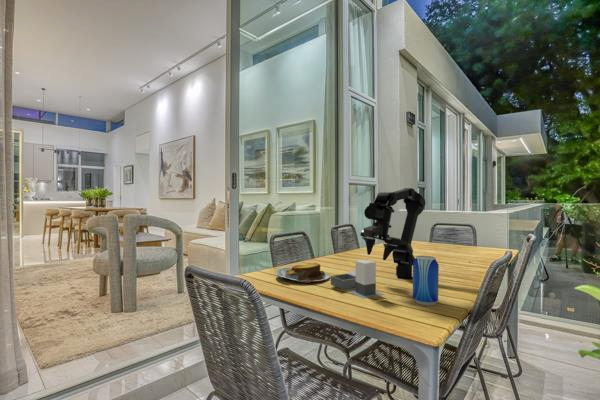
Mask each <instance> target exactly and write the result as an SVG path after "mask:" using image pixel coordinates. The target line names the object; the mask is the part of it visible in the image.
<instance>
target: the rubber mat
mask: <svg viewBox="0 0 600 400" xmlns="http://www.w3.org/2000/svg"><path fill="white" fill-rule="evenodd" d="M347 292H349V293H350V294H352V295H355V296H357V297H359V298H361V299H369V298H374V297H379V296H385V294H384V293H382V292H379V291H377V290H376V294H372V295H366V296H364V295H361V294H359V293H357V292H355V289H352V290H350V289H349V290H347Z"/></svg>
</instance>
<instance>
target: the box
mask: <svg viewBox="0 0 600 400" xmlns="http://www.w3.org/2000/svg"><path fill="white" fill-rule="evenodd" d="M376 266H377V263H376V262H375V261H372V260H369V259H362V260H355V271H356V283H355V288H354V290H355V292H357V293H359V294H361V295H364V296H366V295H372V294H376V291H377V290H376V289H377V287H376V286H377V284H376V282H377V279H376V278H377V272H376V271H377V267H376Z"/></svg>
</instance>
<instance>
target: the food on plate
mask: <svg viewBox="0 0 600 400" xmlns="http://www.w3.org/2000/svg"><path fill="white" fill-rule="evenodd" d="M325 273H326V274H325ZM274 274H276V275H277V277H278V278H285V279H289V280H292V281H296V282H297V283H299V282H301V283H311V282H313V283H314V282H320V281H321V282H322V281H326V280H328V279H329V278H331V276H329V275H330V274H329V275H327V274H328V273H327V271H326V272H325V271H324V270H321V264H320V263H317V262H313V263H308V264H297V265H293V266H284V267H279V268H277V269H276V270H275V271H274ZM321 278H322V279H321ZM317 279H319V280H317Z"/></svg>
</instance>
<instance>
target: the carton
mask: <svg viewBox="0 0 600 400" xmlns="http://www.w3.org/2000/svg"><path fill="white" fill-rule="evenodd" d="M326 273H327V272H326ZM326 273H325V274H326ZM327 275H329V276H330V285H332V286H333V287H335V288H338V289H340V290H348V289H349V290H350V289H355V283H356V269H352V270H350V271H348V272H347V273H341V274H334V275H331V274H330V273H327Z"/></svg>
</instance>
